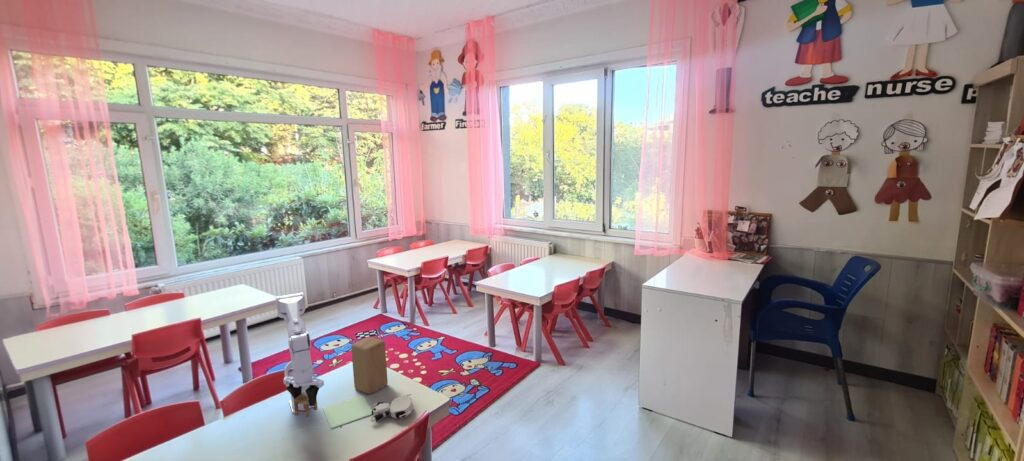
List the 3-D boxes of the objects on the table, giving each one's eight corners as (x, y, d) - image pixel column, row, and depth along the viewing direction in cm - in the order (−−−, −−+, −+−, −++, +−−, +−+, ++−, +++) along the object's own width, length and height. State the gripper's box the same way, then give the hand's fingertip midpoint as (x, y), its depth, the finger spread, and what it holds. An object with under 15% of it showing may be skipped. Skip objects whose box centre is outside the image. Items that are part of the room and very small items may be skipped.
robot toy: (370, 429, 151) (413, 421, 153) (368, 418, 150) (411, 410, 152) (374, 409, 162) (414, 402, 165) (372, 399, 162) (412, 391, 164)
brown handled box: (295, 415, 146) (293, 399, 145) (305, 407, 151) (303, 391, 150) (308, 417, 145) (306, 401, 144) (317, 408, 150) (315, 393, 149)
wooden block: (388, 384, 178) (385, 340, 175) (369, 396, 170) (366, 349, 167) (372, 378, 184) (369, 335, 180) (353, 389, 175) (349, 344, 172)
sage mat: (322, 408, 162) (322, 407, 162) (362, 396, 170) (362, 395, 170) (331, 428, 149) (331, 427, 149) (373, 414, 158) (373, 413, 158)
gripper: (275, 371, 143) (279, 407, 145) (312, 375, 140) (316, 412, 142) (290, 361, 149) (293, 396, 152) (326, 365, 146) (329, 400, 149)
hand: (305, 403), depth 147 cm, fingers closed on brown handled box, 5 cm apart
